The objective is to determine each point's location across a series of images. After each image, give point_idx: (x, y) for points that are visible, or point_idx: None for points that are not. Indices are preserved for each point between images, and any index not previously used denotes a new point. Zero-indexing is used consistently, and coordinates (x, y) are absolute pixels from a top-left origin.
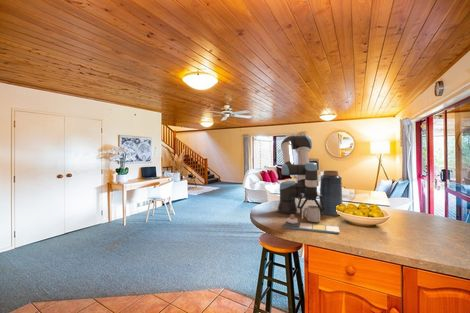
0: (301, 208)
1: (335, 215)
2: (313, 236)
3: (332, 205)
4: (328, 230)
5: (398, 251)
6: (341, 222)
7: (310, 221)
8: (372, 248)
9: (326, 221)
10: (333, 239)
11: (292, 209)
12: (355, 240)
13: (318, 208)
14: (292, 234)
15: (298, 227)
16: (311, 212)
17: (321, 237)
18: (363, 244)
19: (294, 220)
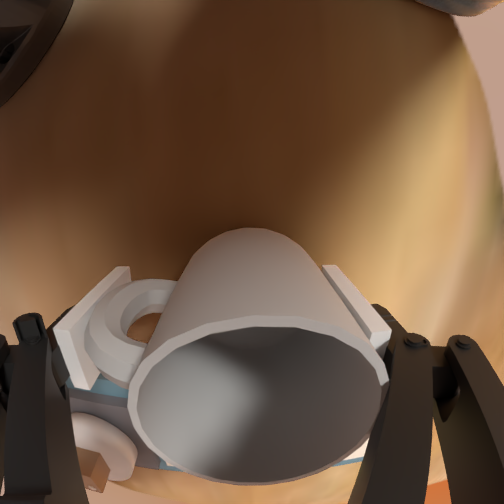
0: (62, 394)
1: (455, 14)
2: (261, 499)
3: None
4: (353, 455)
5: None
6: (493, 205)
7: (225, 342)
8: (443, 475)
9: (394, 213)
10: (347, 491)
11: (2, 45)
12: (431, 458)
13: (366, 426)
14: (162, 497)
15: (162, 464)
16: (236, 431)
17: (298, 496)
18: (436, 469)
19: (121, 479)
